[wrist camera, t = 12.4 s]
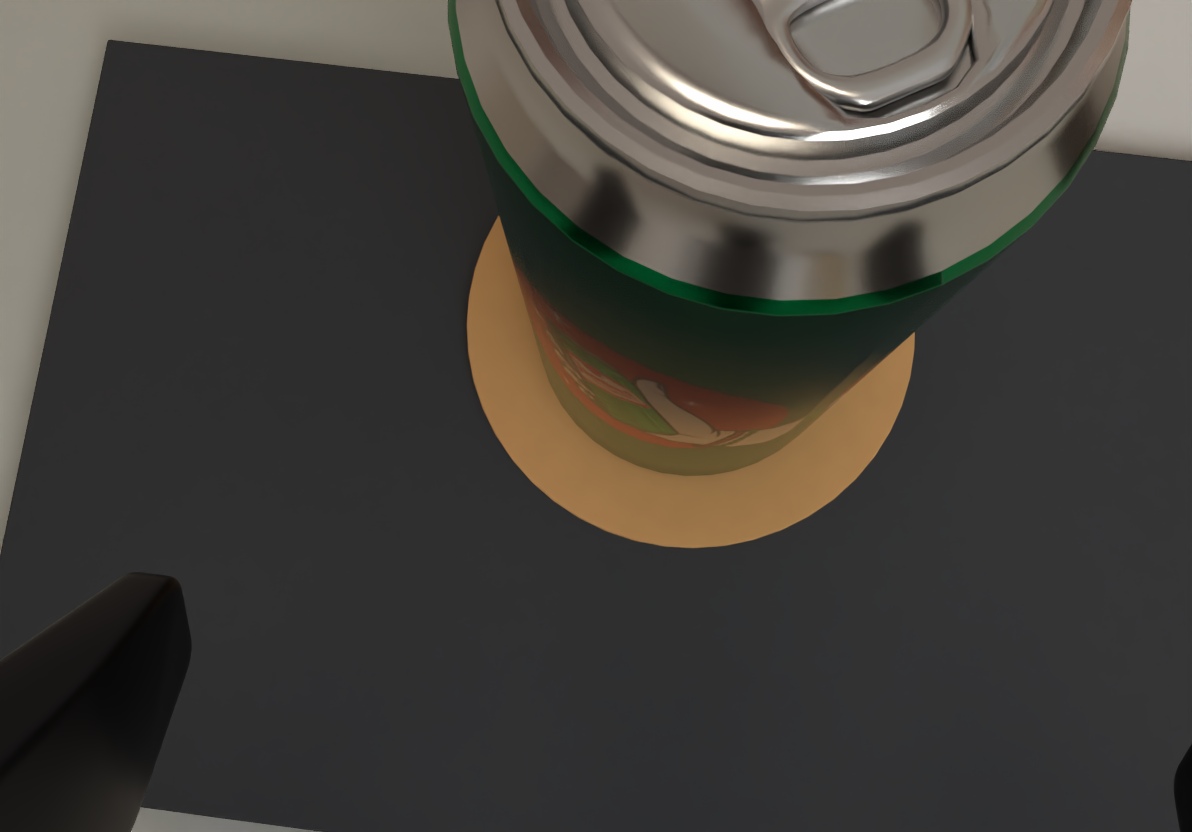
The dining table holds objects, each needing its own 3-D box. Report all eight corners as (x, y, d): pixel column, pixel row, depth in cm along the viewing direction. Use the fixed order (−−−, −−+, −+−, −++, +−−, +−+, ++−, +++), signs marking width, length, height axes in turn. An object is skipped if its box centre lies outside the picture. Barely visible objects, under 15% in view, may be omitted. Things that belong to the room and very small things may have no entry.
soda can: (760, 143, 20) (983, -550, 8) (890, 405, 19) (1358, 75, 7) (492, 259, 19) (305, -279, 8) (613, 529, 19) (616, 402, 7)
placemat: (1313, 960, 18) (1337, 973, 17) (-35, 778, 19) (-57, 783, 18) (1331, 186, 20) (1352, 173, 19) (116, 49, 21) (101, 33, 20)
